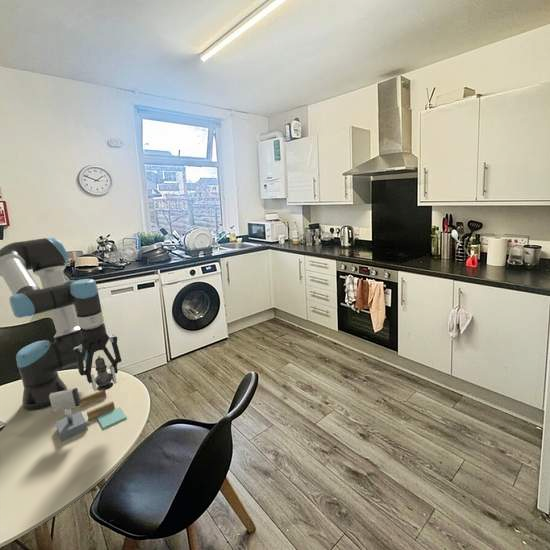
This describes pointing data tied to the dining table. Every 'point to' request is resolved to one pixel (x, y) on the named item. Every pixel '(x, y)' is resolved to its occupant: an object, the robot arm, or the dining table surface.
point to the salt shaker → (102, 375)
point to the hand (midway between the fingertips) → (105, 385)
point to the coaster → (111, 418)
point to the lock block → (71, 426)
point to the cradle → (99, 410)
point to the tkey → (65, 401)
